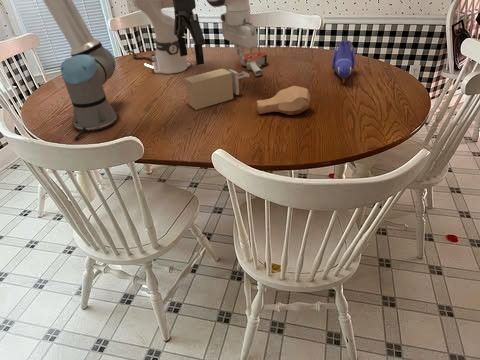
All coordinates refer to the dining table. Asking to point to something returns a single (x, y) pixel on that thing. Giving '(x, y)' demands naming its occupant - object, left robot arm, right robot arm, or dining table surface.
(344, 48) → the toy
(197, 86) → the beige rectangular block
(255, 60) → the grey and red gadget
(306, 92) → the squash
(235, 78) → the drawer
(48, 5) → the left robot arm
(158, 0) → the right robot arm
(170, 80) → the dining table surface
